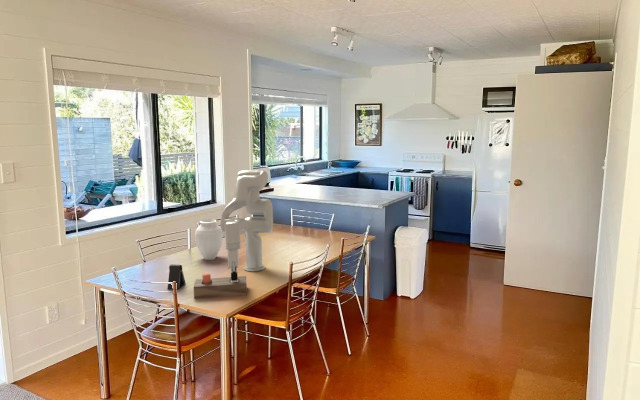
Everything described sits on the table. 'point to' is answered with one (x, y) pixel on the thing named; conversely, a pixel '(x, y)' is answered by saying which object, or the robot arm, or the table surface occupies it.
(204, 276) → the red plug
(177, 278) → the phone stand
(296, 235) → the table surface
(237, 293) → the plug block
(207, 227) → the vase
